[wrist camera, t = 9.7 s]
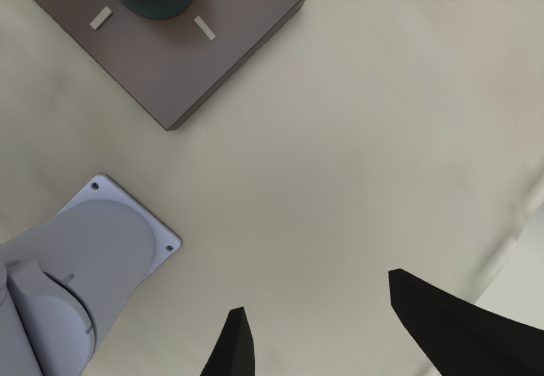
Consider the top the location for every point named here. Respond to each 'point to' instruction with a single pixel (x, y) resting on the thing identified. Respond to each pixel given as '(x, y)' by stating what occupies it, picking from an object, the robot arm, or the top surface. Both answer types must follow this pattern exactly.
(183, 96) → the stand
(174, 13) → the jar
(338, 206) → the top surface
